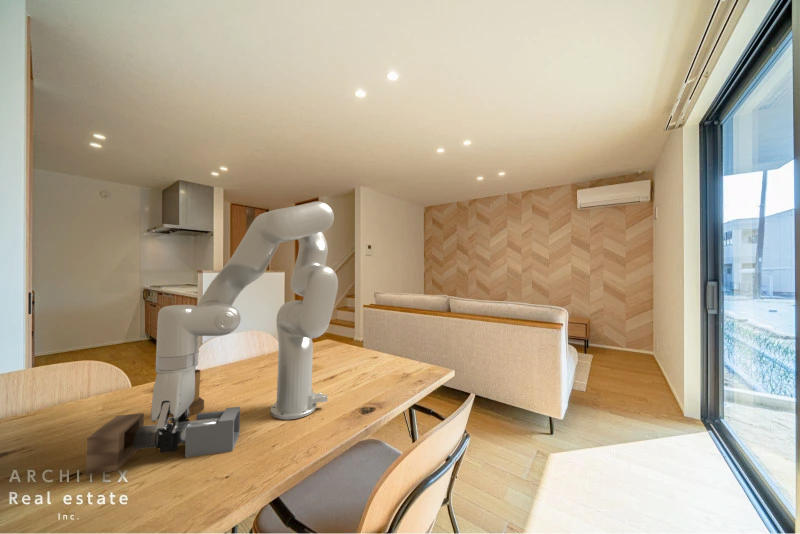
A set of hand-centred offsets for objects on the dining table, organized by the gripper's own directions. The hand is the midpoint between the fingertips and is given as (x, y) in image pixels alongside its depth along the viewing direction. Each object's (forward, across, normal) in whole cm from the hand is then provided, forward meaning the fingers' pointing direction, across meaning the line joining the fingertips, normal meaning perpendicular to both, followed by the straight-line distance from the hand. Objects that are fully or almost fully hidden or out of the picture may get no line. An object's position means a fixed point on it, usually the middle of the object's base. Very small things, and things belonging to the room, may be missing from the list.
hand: (174, 443), depth 64 cm
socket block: (+2, 0, -10) cm, 10 cm away
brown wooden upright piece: (+2, -20, -4) cm, 20 cm away
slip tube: (0, 0, +2) cm, 2 cm away
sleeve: (+2, 0, +8) cm, 8 cm away
